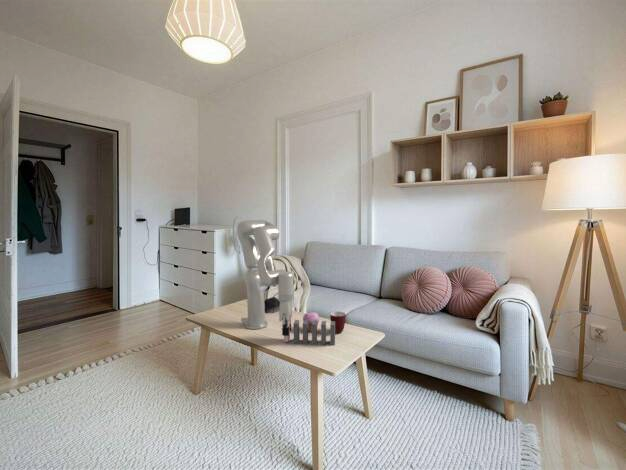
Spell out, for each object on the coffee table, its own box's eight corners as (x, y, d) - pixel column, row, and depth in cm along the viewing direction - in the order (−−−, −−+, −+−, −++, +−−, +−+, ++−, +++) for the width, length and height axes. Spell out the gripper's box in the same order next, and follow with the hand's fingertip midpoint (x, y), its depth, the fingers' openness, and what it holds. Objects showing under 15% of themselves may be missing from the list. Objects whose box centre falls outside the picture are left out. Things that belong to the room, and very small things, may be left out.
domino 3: (311, 344, 149) (311, 324, 148) (313, 340, 154) (313, 320, 153) (316, 344, 148) (315, 324, 148) (317, 340, 153) (317, 320, 153)
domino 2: (302, 343, 149) (302, 323, 148) (304, 339, 154) (304, 320, 153) (306, 344, 149) (306, 324, 148) (308, 339, 154) (308, 320, 153)
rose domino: (283, 341, 150) (283, 321, 149) (286, 337, 155) (285, 318, 154) (287, 341, 150) (287, 321, 149) (289, 337, 155) (289, 318, 154)
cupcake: (300, 329, 167) (299, 311, 166) (312, 326, 172) (312, 308, 172) (309, 334, 160) (309, 316, 159) (322, 330, 165) (322, 312, 165)
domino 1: (293, 343, 150) (293, 323, 149) (295, 339, 155) (295, 320, 154) (297, 343, 149) (297, 323, 149) (299, 339, 154) (299, 320, 154)
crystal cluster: (260, 309, 206) (258, 295, 204) (279, 305, 210) (278, 291, 208) (262, 317, 193) (260, 302, 192) (283, 313, 197) (281, 298, 195)
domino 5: (330, 345, 148) (330, 324, 147) (331, 340, 152) (331, 321, 152) (334, 345, 147) (334, 325, 147) (335, 341, 152) (335, 321, 151)
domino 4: (321, 344, 148) (321, 324, 147) (322, 340, 153) (322, 320, 152) (325, 344, 148) (325, 324, 147) (326, 340, 153) (326, 321, 152)
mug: (336, 326, 171) (336, 309, 170) (350, 329, 167) (350, 311, 166) (327, 333, 162) (327, 314, 161) (341, 336, 158) (341, 317, 157)
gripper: (282, 292, 160) (283, 326, 161) (274, 302, 143) (275, 339, 144) (296, 292, 159) (297, 327, 160) (290, 302, 142) (290, 340, 143)
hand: (286, 332), depth 152 cm, fingers closed on rose domino, 4 cm apart
